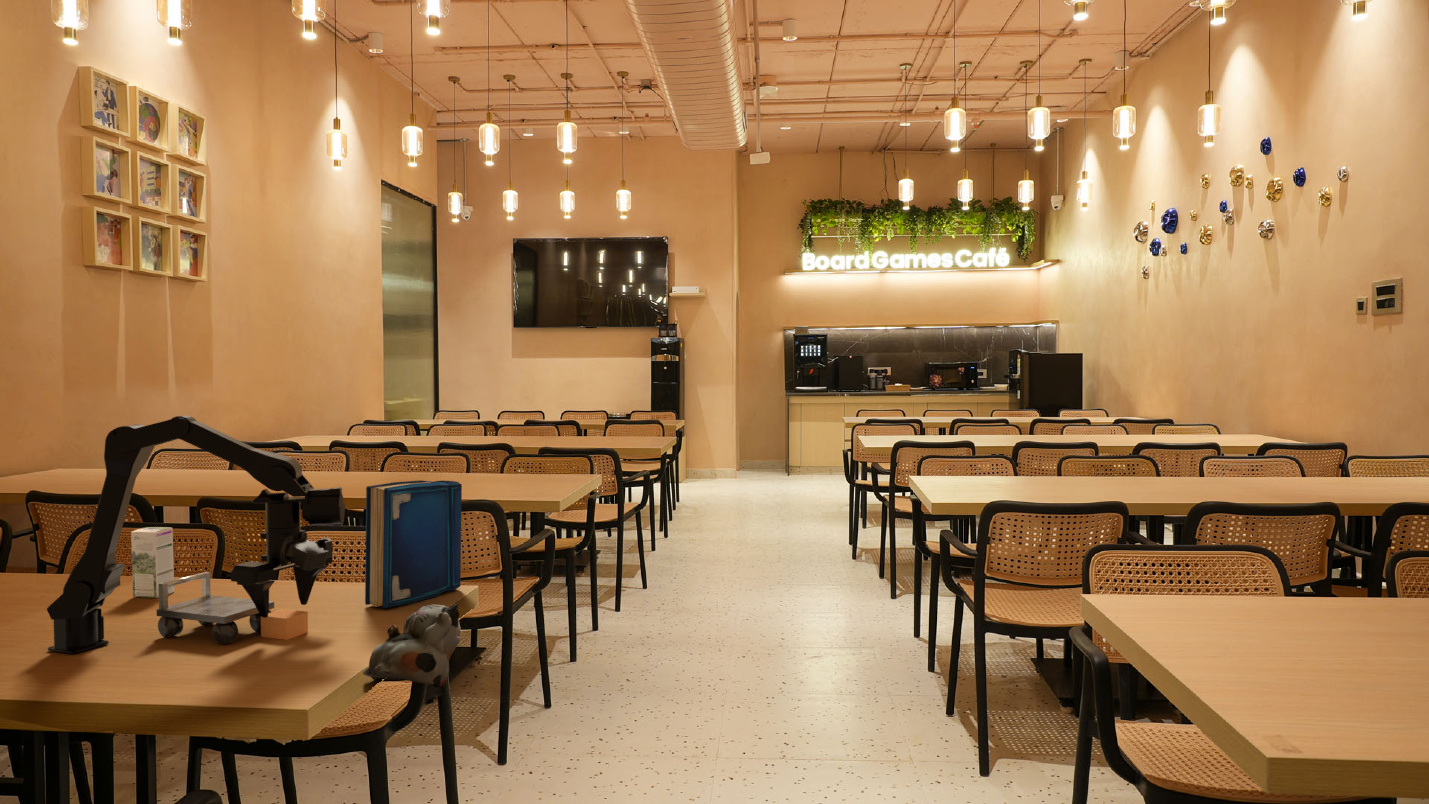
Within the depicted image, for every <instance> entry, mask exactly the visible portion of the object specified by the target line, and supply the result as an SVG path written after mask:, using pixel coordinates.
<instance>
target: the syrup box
mask: <svg viewBox="0 0 1429 804" xmlns="http://www.w3.org/2000/svg"><path fill="white" fill-rule="evenodd" d="M173 531H174V530H173V527H167V526H165V527H162V526H159V527H158V526H155V527H154V526H153V527H152V526H150V527H148V526H147V527H146V526H145V527H141V528H138V529H135V530H133V531H130V532H131V533H130V536H131V540H130V541H131V543H130V544H131V568H132V569H131V572H132V597H133V598H144V599H145V598H147V599H148V598H150V599H151V598H152V599H155V598H157V599H159V583H163V582H167V581H171V580H175V576H174V575H175V574H174V573H175V571H174V569H175V568H174V565H175V564H174V532H173ZM172 593H175V585H174V586H170V587H168V595H170V594H172Z"/></svg>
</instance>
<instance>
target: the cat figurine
mask: <svg viewBox="0 0 1429 804" xmlns="http://www.w3.org/2000/svg"><path fill="white" fill-rule="evenodd" d="M458 608H459V603H454V604H453V605H452V606H449V607H448V606H446V605H443V604H442V605H441V604H428V605H425V606H422V607H420V608H418V609H417V611H415V612H413V613H412V614H410V615H408V617H407V618H406V620H405V621H404V625H403V632H402V633H400V630H399V627H398V625H395V624H391V625H390V626H389V627H388V628H387V630H386V632H387V635H388V638H386V640H385V641H384V642H383V643H381V644H378V645H377V646H376V647H375V648H374V649H373V651H372V652H371V655H370V658H369V662H368V667H367V668H365V669H364V670H363V671H362V672H363V673H362V674H363V675H364V676H367V677H370V678H371V679H372V680H373V681H376V680H378V679H401V680H405V681H409V682H413V683H418V684H421V685H429V686H432V687H434V688H437V689H438V688H442V687H443V686H444V685H445V684H446V682H447V680H448V677H449V673H450V672H449V671H450V663H449V662H450V659H451V657H452V654H454V651H455V650H456V648H457V646H458V645H459V644H460V643H461V639H462V638H461V636H460V633H461V630H462V628H461V625H460V621H459V617H460V612H459V609H458Z"/></svg>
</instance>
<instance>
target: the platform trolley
mask: <svg viewBox="0 0 1429 804" xmlns="http://www.w3.org/2000/svg"><path fill="white" fill-rule="evenodd" d="M200 579H201V597H196V598H192V599H190V600H189V599H188V600H186V601H182V602H177V603H175V604H172V605H169V594H168V587H170V586H174V587H175V586H176V585H181V584H186V583H188V582H189V583H190V582H192V581H193V582H194V581H197V580H200ZM211 592H212V591H211V572H210V571H204V572H201V573H200V572H199V573H196V574H193V575H188V576H184V577H180V578H176V579H175V578H174V580H171V581H167V582H163V583H159V597H158V608H157V609H156V617H160V618H159V619H158V621H157V628H158V632H159V634H160V635H161V636H162V637H164V638H168V639H169V638H171V637H174V636H175V637H176V636H177V635H180V634H181V633H182V632H183V629H184V621H183V620H186V621H187V620H189V621H195V622H196V621H197V622H198V624H200V625H201V626H203V627H204V626H205V627H207V626H210V625H213V624H214V625H213V627H212V631H211V632H212V637H213V639H214V641H215V642H216V643H217V644H218V645H221V646H222V645H223V646H224V645H226V644H228V643H232V642H235V641H236V640H237V639H238V636H239V628H238V625H237V623H236V622H235V621H238V620H241V619H244V618H247V617H249V620H248V621H249V625H250V627H251V629H252V630H253V631H254V632H256V633H261V615H260V613H259V611H258V610H257V608H256V606H255V604H254V603H253V601H252V599H251V598H241V597H233V596H231V597H230V596H220V595H211ZM272 609H275V601H270V600H269V612H268V613H271V612H272V611H271V610H272Z"/></svg>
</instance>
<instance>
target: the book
mask: <svg viewBox="0 0 1429 804" xmlns="http://www.w3.org/2000/svg"><path fill="white" fill-rule="evenodd" d="M462 487H463V485H462V483H460V482H459V481H455V480H435V481H431V480H430V481H429V480H407V481H393V482H388V483H382V484H381V483H380V484H375V485H368V486H366V488H365V490H366V491H365V493H366V494H365V564H364V565H365V570H364V571H365V576H364V577H365V578H364V579H365V581H364V583H365V585H364V586H365V587H364V588H365V589H364V590H365V591H364V594H365V595H364V603H365V606H368V605H371V606H372V607H374V608H376V607H382V609H387V608H388V609H389V608H392V607H393V608H395V607H398V606H404V605H410V604H414V603H418V602H422V601H424V600H429V599H433V598H437V597H439V596H440V595H441V594H443V593H444V592H445V593H446V592H451V591H455V590H457V589H458V588H459V589H460V587H461V573H462V572H461V567H462V566H461V563H462V562H461V561H462V556H461V554H462V550H461V549H462V494H463V493H462V489H463V488H462Z"/></svg>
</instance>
